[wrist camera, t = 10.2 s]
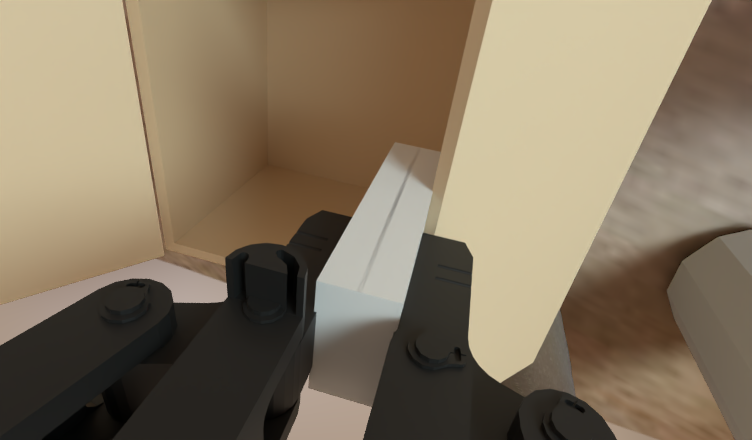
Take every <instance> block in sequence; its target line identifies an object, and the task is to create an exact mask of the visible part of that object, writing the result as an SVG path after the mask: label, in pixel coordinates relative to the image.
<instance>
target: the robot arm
mask: <svg viewBox="0 0 752 440" xmlns="http://www.w3.org/2000/svg"><path fill="white" fill-rule="evenodd" d="M440 154H441V152H439V151H434V150H430V149H425V148H420V147H416V146H411V145H406V144H402V143H397V142H395V143H394V145H393V146H392V148H391V150H390V152H389V153H388V155H387V157H386V159H385V160H384V162H383V164H382V166H381V168H380V169H379V171H378V173H377V175H376V176H375V178H374V180H373V182H372V183H371V185H370V187H369V189H368V190H367V192H366V194H365V196H364V198H363V199H362V201H361V203H360V205H359V206H358V208H357V210H356V212H355V213H354V215H353V217H350V216H345V215H341V214H337V213H333V212H329V211H325V210H321V211H320V212H318V213H316V214H314V215H312V216H310V217H308V218H306V220H305V221H304V222H303V224H302V225H301V226H300V228H299V229H298V230H297V233H295V234H294V236H293V237H292V238H291V240H290V241H289V244H287V245H286V246H284V245H280V244H272V243H260V244H250V245H248V246H245V247H242V248H239V249H236V250H235V251H233V252H232V253H231V254H229V255H228V256H227V257H225V265H226V279H227V291H228V292H227V293H228V298H227V299H226V300H225V301H224V302H218V303H173V298H172V293H171V290H169V289H168V288H167V287H166V286H165V285H164V284H163V283H160V282H157V281H154V280H151V279H129V280H124V281H119V282H114V283H112V284H110V285H108V286H105V287H103V288H101V289H98V290H97V291H95V292H93V293H91V294H90V295H88V296H86V297H84V298H83V299H81V300H79V301H77V302H76V303H74V304H72V305H70V306H69V307H67V308H65V309H63V310H62V311H60V312H58V313H56V314H55V315H53V316H51V317H49V318H48V319H46V320H44V321H43V322H41V323H39V324H37V325H36V326H34V327H32V328H30V329H28V330H27V331H25V332H23V333H21V334H20V335H18V336H16V337H15V338H13V339H11V340H9V341H7V342H6V343H4V344H2V345H1V346H0V440H287V437H288V435H289V433H290V430H291V428H292V426H293V424H294V421H295V419H296V417H297V414H298V409H299V404H300V393H301V391H302V388H303V386H304V384H305V382H306V380H307V378H308V375H309V388H310V389H314V390H317V391H320V392H324V393H327V394H330V395H334V396H338V397H340V398H344V399H347V400H351V401H354V402H357V403H360V404H364V405H367V406H371V407H372V409H371V413H370V416H369V420H368V424H367V427H366V431H365V434H364V438H363V440H617V439H616V437H615V435H614V434H613V432H612V431H611V429H610V428H609V427H608V425H607V423H606V422H605V420H604V419H603V418H602V416H600V415H599V414H598V413H597V412H596V411H595V410H594V409H593V408H591V407H590V406H589V405H588V404H587V403H586V402H584V401H582V400H580V399H578V398H577V397H575V396H573V395H571V394H569V393H566V392H562V391H558V390H554V389H543V390H535V391H533V392H532V393H530V394H529V395H528V396H526V397H524V396H522V395H520V394H518V393H517V392H515V391H513V390H511V389H510V388H508V387H506V386H504V385H503V384H501V383H499V382H498V381H497V380H495V379H494V378H492V377H491V376H489V375H488V374H487V373H486V372H485V371H484V370H483V369H482V368H481V367H480V366H479V364H478V363H477V362H476V360H475V359H474V357H473V355H472V353H471V350H470V348H469V341H468V332H469V316H470V301H471V285H472V270H473V256H472V254H471V252H470V251H469V249H468V247H467V245H466V243H464V242H460V241H456V240H452V239H448V238H444V237H439V236H435V235H431V234H427V233H423V232H424V228H425V224H426V219H427V215H428V211H429V206H430V202H431V198H432V193H433V191H432V189H433V184H434V180H435V176H436V171H437V167H438V162H439V158H440ZM309 373H310V374H309Z"/></svg>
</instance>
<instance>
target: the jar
mask: <svg viewBox="0 0 752 440" xmlns="http://www.w3.org/2000/svg"><path fill="white" fill-rule="evenodd" d="M667 294H668V298H669V302H670V305H671V309H672V313H673V317H674V319H675V321H676V323H677V325H678V327H679V329H680V331H681V333H682V335H683V337H684V339H685V341H686V343H687V345H688V347H689V349H690V351H691V353H692V355H693V357H694V359H695V361H696V363H697V365H698V367H699V369H700V371H701V373H702V375H703V377H704V379H705V381H706V383H707V385H708V387H709V389H710V391H711V393H712V395H713V397H714V399H715V401H716V403H717V405H718V407H719V409H720V411H721V413H722V415H723V417H724V419H725V421H726V423H727V425H728V427H729V429H730V431H731V433H732V435H733V437H734V439H735V440H752V229H751V230H746V231H742V232H737V233H733V234H729V235H724V236H720V237H717V238H715V239H714V240H712V241H711V242H709V243H708V244H706V245H705V246H703V247H702V248H700V249H699V250H697V251H696V252H694V253H693V254H691V255H690V256H688V257H687V258H686V259H684V260H683V261H682V262H681V264H680V266H679V268H678V270H677V272H676V274H675V276H674V278H673V280H672V281H671V283H670V285H669V287H668V289H667Z"/></svg>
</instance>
